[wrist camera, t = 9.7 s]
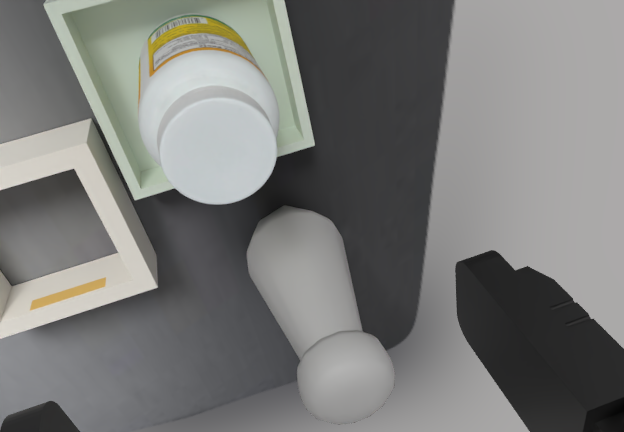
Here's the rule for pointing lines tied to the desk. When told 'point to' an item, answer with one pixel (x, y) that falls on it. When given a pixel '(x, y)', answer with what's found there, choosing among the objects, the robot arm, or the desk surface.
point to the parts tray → (125, 68)
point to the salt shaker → (319, 315)
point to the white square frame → (112, 211)
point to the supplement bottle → (206, 109)
